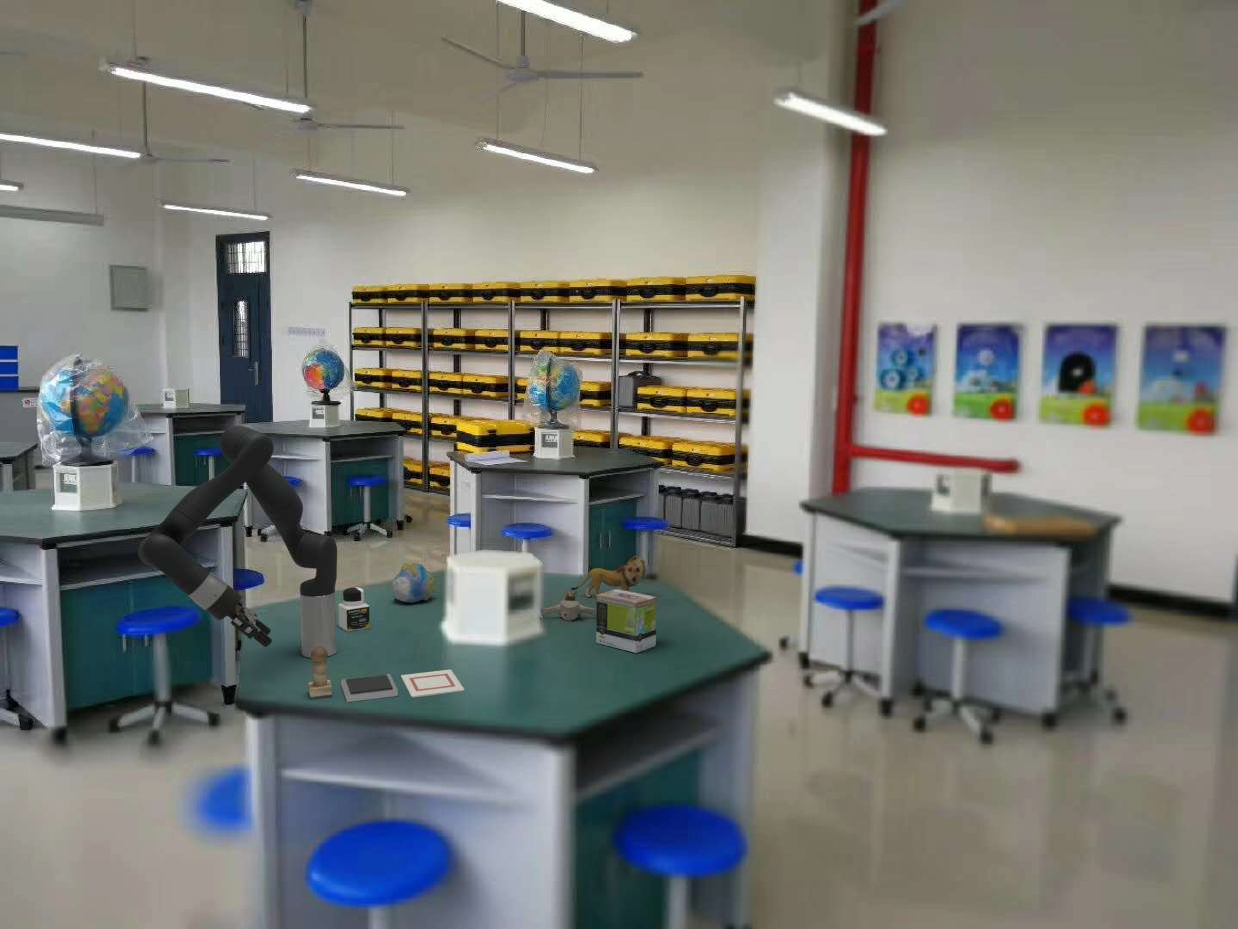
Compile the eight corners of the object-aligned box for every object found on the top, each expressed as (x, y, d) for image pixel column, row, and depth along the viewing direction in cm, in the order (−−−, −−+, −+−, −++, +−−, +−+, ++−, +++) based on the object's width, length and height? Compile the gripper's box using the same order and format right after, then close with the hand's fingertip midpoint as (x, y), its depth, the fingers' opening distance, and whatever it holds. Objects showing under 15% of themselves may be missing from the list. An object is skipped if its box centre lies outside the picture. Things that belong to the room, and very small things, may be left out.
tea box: (657, 646, 277) (657, 596, 275) (635, 654, 269) (636, 603, 267) (616, 635, 286) (617, 587, 284) (594, 643, 278) (595, 593, 276)
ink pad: (341, 685, 242) (341, 678, 241) (390, 680, 246) (389, 672, 246) (347, 702, 231) (346, 694, 230) (397, 696, 235) (397, 688, 235)
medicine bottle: (347, 632, 287) (346, 592, 285) (338, 626, 292) (337, 587, 291) (370, 628, 291) (369, 589, 289) (361, 622, 296) (360, 584, 295)
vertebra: (602, 605, 312) (602, 581, 307) (602, 627, 303) (603, 602, 298) (538, 606, 311) (538, 582, 306) (537, 628, 302) (536, 603, 297)
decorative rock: (396, 561, 313) (439, 559, 320) (384, 566, 326) (425, 564, 333) (398, 603, 311) (441, 599, 318) (386, 606, 324) (428, 603, 331)
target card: (401, 676, 249) (400, 675, 249) (450, 671, 253) (450, 669, 253) (411, 697, 234) (411, 695, 234) (464, 691, 239) (464, 689, 239)
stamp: (308, 692, 237) (307, 645, 235) (330, 690, 239) (328, 643, 237) (310, 699, 232) (309, 651, 231) (332, 696, 234) (330, 649, 233)
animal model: (642, 604, 321) (642, 560, 320) (567, 598, 327) (568, 555, 325) (647, 597, 330) (648, 554, 328) (575, 592, 336) (575, 550, 334)
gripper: (226, 591, 218) (281, 635, 223) (226, 577, 231) (278, 619, 237) (202, 616, 216) (258, 659, 222) (203, 600, 230) (256, 642, 235)
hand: (268, 638), depth 229 cm, fingers open, 8 cm apart
